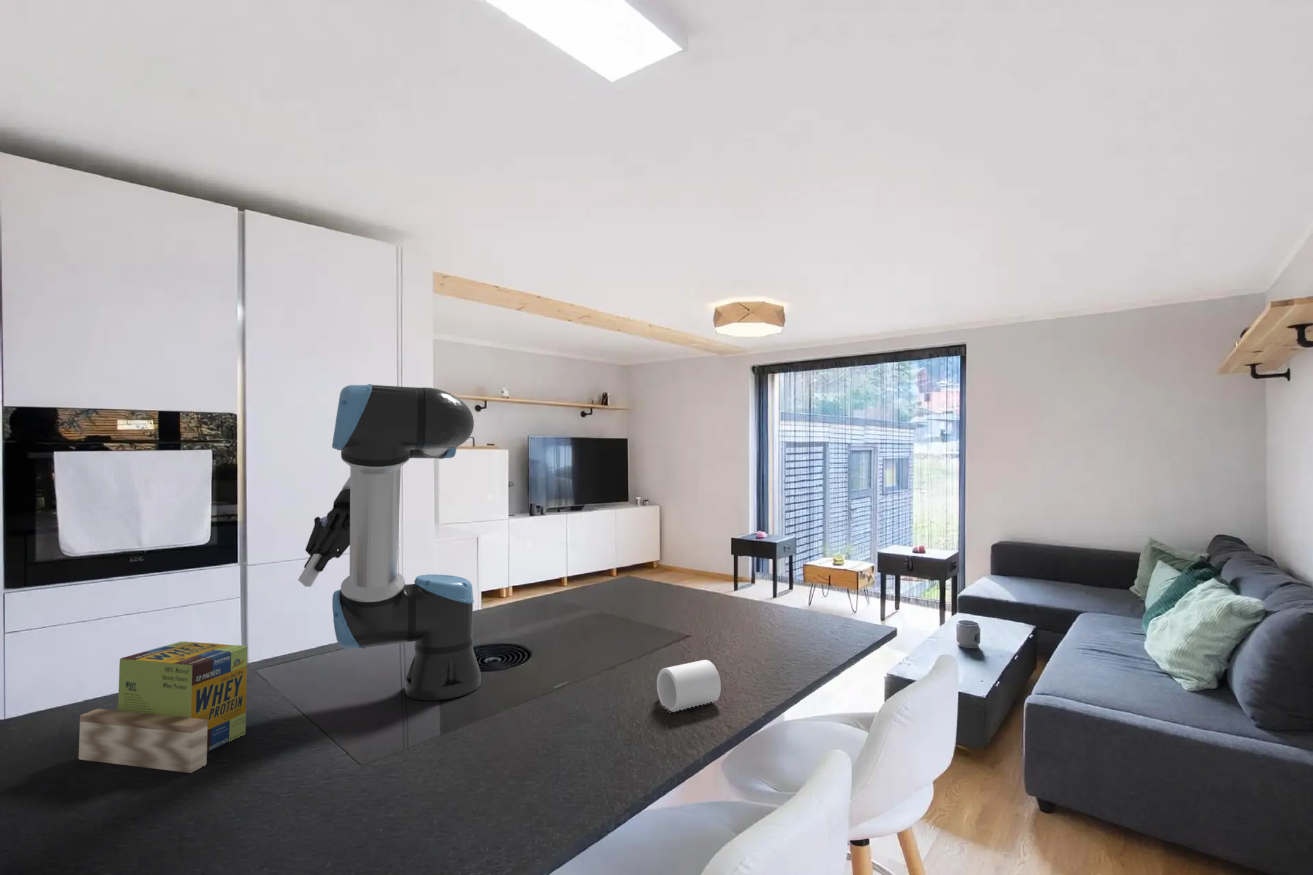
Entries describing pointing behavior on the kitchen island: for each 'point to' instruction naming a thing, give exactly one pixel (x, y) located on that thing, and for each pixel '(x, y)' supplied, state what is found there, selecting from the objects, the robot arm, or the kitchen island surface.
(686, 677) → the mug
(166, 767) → the rail
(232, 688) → the protein box
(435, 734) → the kitchen island surface
